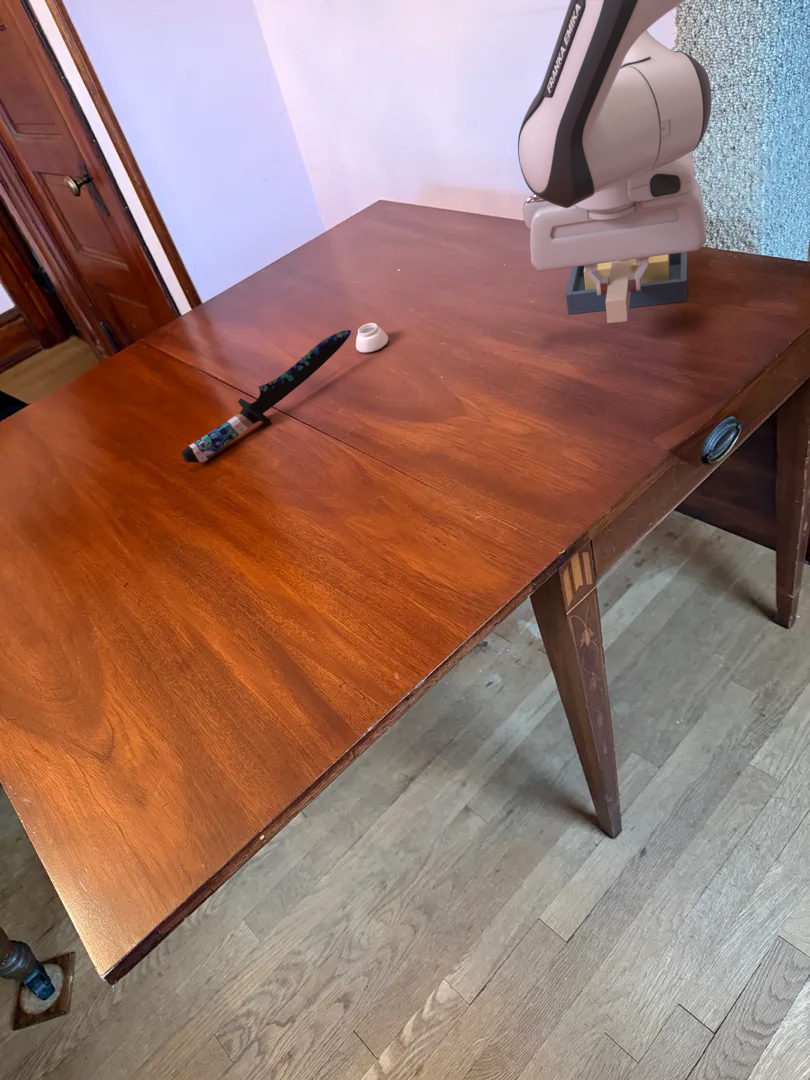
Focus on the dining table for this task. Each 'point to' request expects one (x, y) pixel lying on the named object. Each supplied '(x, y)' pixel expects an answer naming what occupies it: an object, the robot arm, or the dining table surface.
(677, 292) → the butter dish
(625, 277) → the butter knife
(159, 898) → the dining table surface
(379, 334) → the lidless jar
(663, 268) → the butter
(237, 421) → the knife
